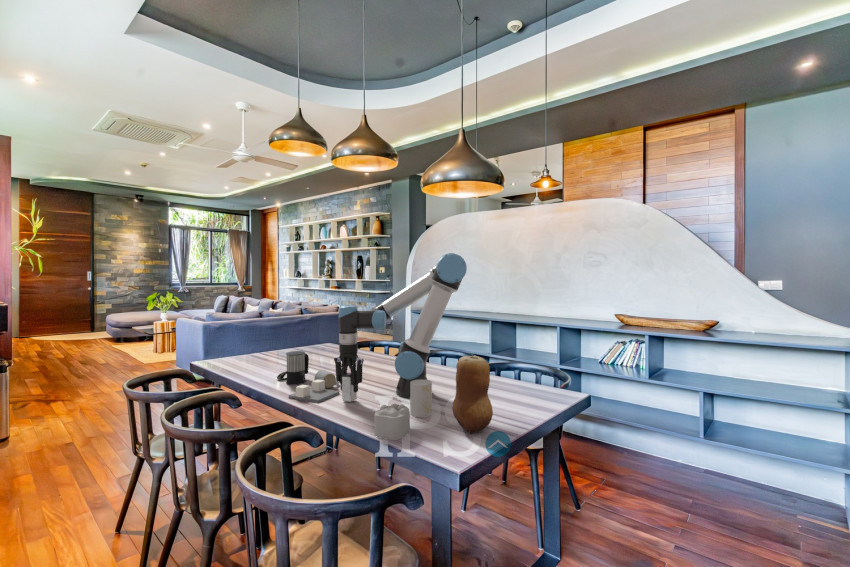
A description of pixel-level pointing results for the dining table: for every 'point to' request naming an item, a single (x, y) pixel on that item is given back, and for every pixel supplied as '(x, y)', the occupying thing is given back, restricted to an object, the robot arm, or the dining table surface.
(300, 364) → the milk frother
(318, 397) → the board
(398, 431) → the lumpy-topped squat cylinder
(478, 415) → the butternut squash
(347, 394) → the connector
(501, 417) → the dining table surface
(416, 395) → the cup
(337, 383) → the ceramic mug
